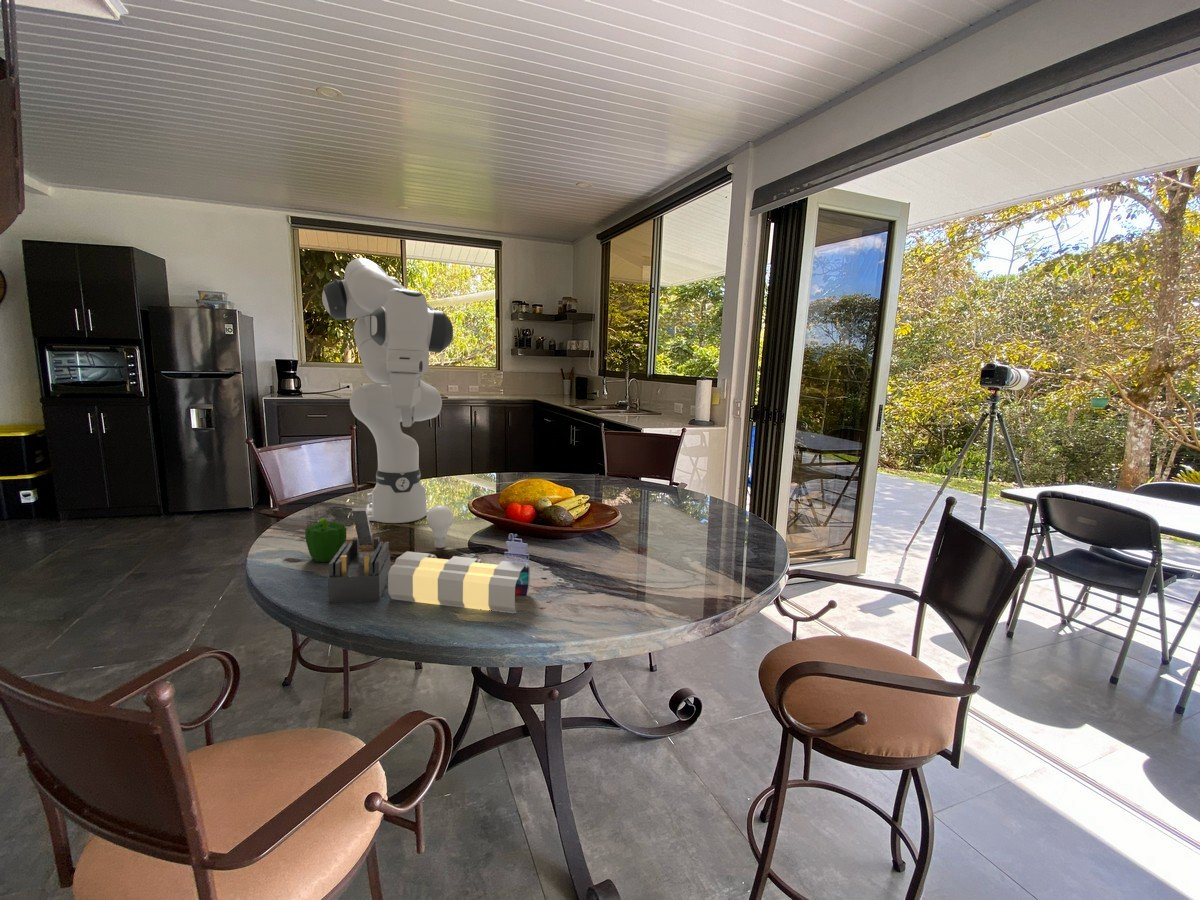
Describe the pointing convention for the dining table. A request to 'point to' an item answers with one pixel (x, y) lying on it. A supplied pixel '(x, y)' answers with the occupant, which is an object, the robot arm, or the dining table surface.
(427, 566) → the grey yellow striped block
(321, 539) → the bell pepper
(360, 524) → the grey slab
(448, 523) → the lightbulb
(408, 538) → the dining table surface
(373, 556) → the dark grey slotted box
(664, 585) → the dining table surface
